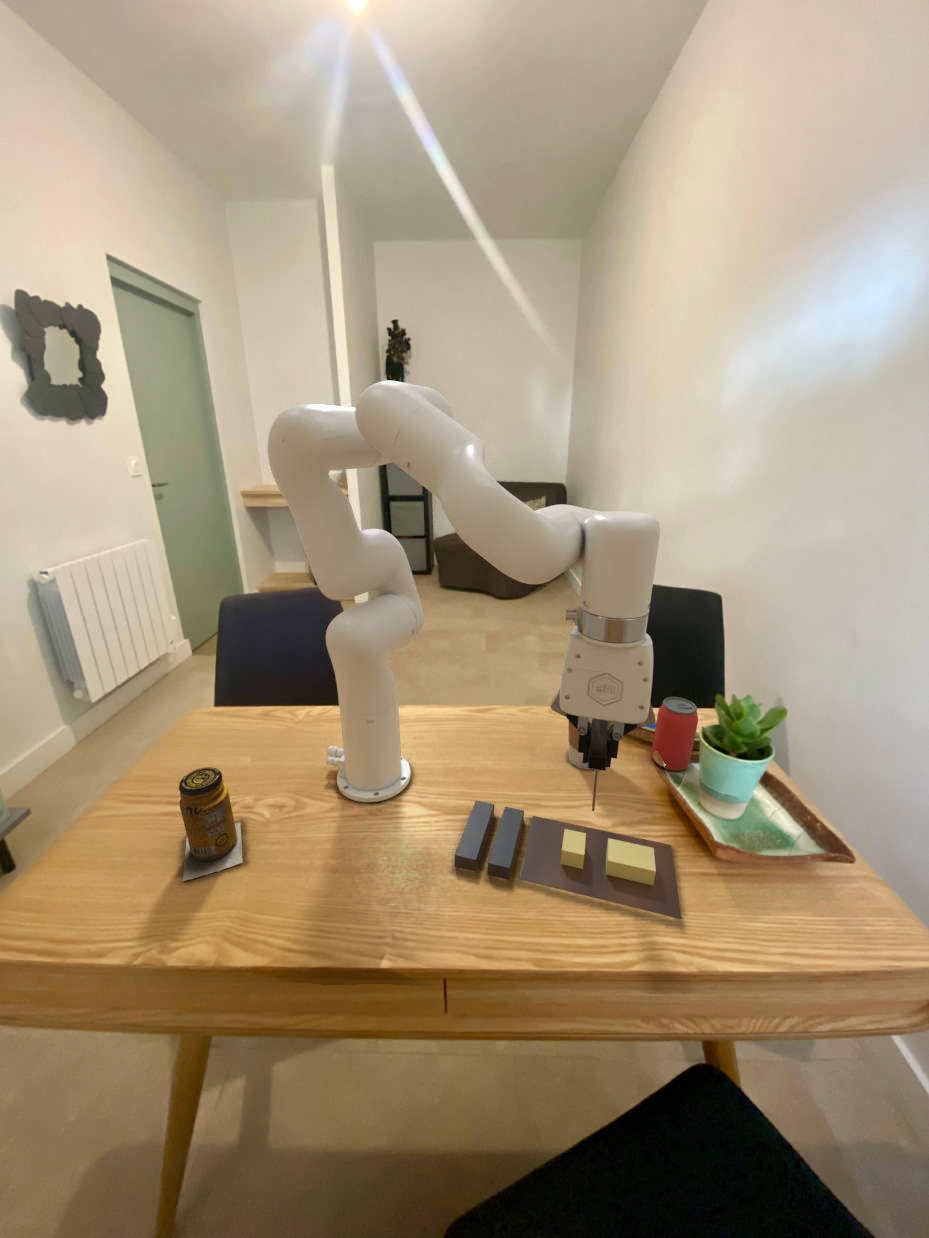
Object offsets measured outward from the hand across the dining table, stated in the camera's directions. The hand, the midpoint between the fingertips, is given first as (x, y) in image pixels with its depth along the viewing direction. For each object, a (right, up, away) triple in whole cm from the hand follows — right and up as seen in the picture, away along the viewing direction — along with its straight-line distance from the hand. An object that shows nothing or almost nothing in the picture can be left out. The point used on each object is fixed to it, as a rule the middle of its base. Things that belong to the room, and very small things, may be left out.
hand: (596, 757), depth 61 cm
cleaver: (0, -4, +1) cm, 4 cm away
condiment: (-53, -16, +8) cm, 56 cm away
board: (+2, -17, +6) cm, 18 cm away
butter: (+6, -16, +4) cm, 18 cm away
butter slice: (-2, -16, +6) cm, 17 cm away
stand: (-13, -16, +9) cm, 22 cm away
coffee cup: (+6, -9, +28) cm, 30 cm away
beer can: (+21, -9, +28) cm, 36 cm away
